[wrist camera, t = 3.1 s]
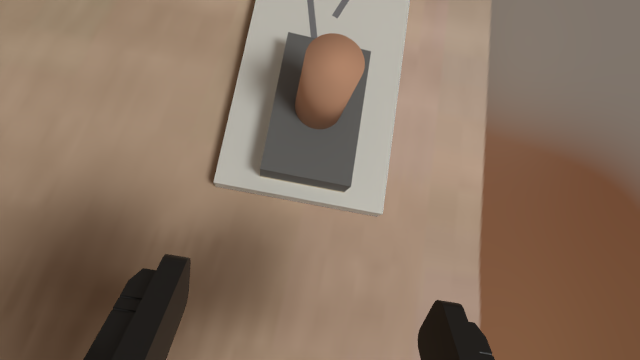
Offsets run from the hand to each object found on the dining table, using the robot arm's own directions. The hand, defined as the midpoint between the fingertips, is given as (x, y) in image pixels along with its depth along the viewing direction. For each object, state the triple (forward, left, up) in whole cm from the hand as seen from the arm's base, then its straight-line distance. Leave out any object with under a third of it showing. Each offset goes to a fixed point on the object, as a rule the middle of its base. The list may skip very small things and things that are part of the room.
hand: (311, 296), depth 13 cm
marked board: (-13, +13, -15) cm, 24 cm away
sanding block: (-8, +8, -14) cm, 18 cm away
